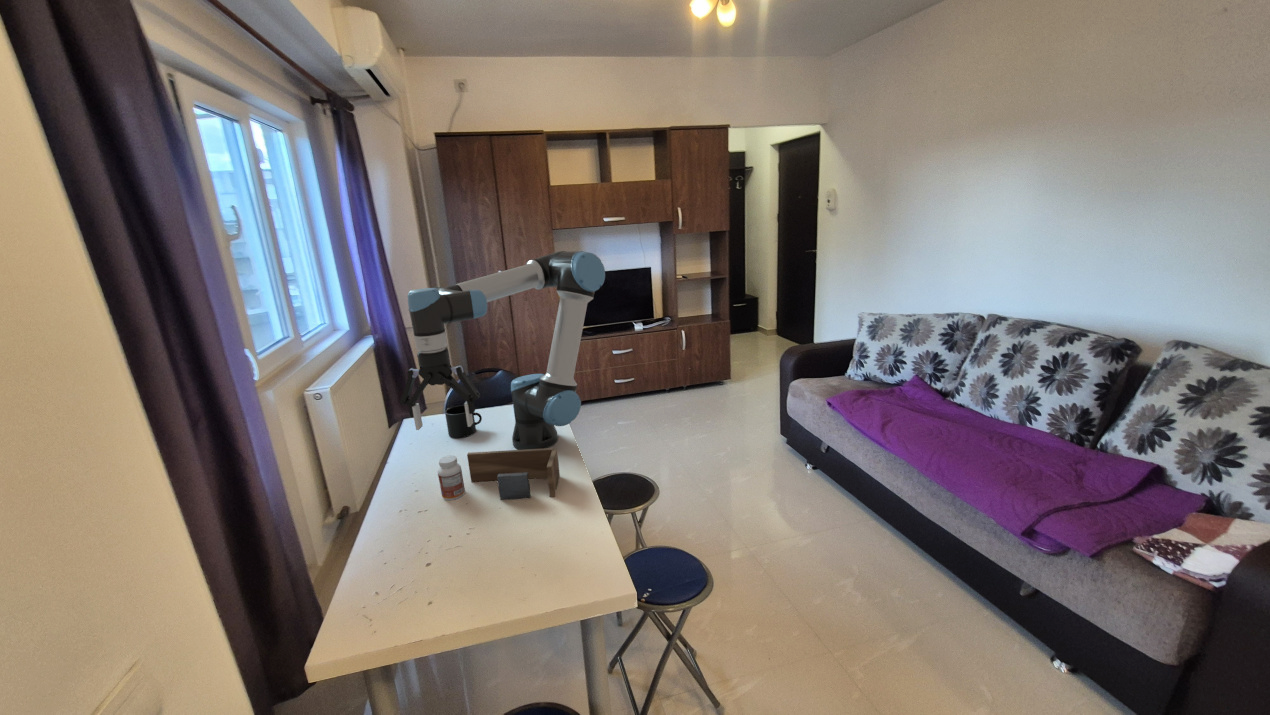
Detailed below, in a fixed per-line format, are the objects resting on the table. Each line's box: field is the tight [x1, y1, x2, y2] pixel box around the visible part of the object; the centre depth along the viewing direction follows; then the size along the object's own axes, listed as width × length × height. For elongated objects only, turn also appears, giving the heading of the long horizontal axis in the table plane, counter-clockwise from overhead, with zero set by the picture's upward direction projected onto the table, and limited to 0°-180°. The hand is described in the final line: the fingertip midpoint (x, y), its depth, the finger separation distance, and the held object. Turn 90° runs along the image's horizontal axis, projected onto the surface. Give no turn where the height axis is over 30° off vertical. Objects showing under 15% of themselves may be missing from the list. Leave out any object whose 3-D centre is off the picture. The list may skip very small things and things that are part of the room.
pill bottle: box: [437, 454, 466, 501], centre depth 144 cm, size 6×6×11 cm
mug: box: [444, 404, 483, 439], centre depth 186 cm, size 9×12×9 cm
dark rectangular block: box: [497, 472, 532, 501], centre depth 141 cm, size 2×8×7 cm, turn 90°
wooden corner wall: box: [466, 447, 561, 498], centre depth 146 cm, size 12×26×9 cm, turn 90°
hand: (445, 426), depth 139 cm, fingers open, 13 cm apart
